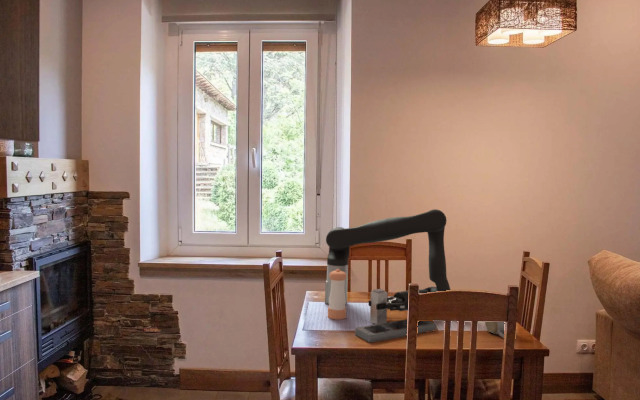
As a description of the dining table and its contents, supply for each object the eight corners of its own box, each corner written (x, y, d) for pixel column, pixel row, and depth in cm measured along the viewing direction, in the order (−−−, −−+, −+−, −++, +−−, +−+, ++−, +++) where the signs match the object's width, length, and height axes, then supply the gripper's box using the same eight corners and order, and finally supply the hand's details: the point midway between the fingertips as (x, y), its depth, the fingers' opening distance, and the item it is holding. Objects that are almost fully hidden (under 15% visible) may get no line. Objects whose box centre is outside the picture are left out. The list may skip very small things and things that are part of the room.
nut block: (376, 324, 181) (377, 292, 181) (370, 321, 185) (371, 289, 185) (386, 323, 184) (387, 290, 183) (379, 319, 188) (380, 288, 187)
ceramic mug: (482, 330, 178) (484, 310, 178) (501, 329, 181) (502, 309, 180) (501, 341, 168) (503, 319, 168) (520, 339, 171) (522, 318, 170)
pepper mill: (324, 317, 189) (325, 269, 188) (332, 313, 196) (333, 266, 195) (341, 320, 186) (342, 271, 185) (348, 315, 192) (350, 268, 191)
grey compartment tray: (369, 342, 162) (370, 335, 162) (355, 334, 170) (355, 327, 170) (436, 330, 177) (436, 323, 177) (420, 323, 185) (420, 317, 185)
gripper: (396, 287, 197) (362, 291, 189) (420, 295, 185) (384, 300, 176) (396, 304, 197) (362, 309, 189) (419, 314, 185) (383, 320, 177)
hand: (373, 305), depth 183 cm, fingers closed on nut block, 4 cm apart
